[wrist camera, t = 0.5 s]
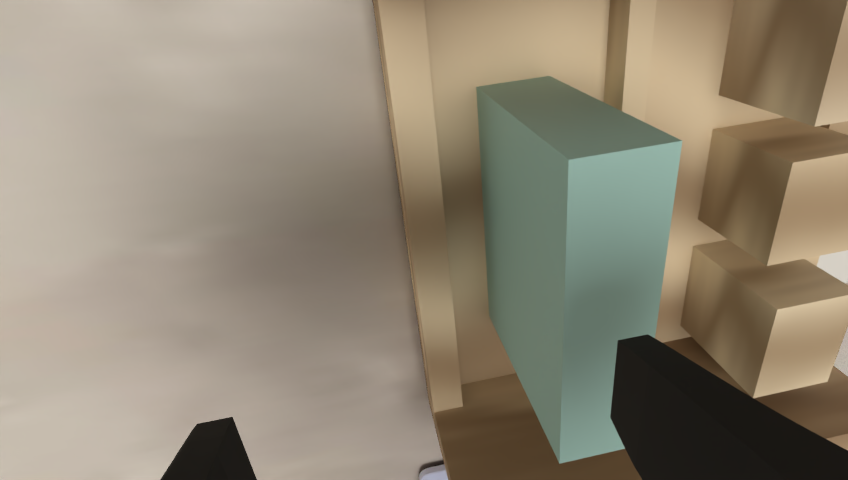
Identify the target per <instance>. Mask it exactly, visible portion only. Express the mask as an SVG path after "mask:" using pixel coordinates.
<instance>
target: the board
mask: <svg viewBox="0 0 848 480" xmlns="http://www.w3.org/2000/svg"><path fill="white" fill-rule="evenodd" d="M476 90H477V108H478V125H479V143H480V161H481V179H482V196H483V214H484V232H485V250H486V267H487V285H488V303H489V317H490V319H491V321H492V323H493V325H494V327H495V329H496V331H497V334H498V336H499V338H500V340H501V342H502V344H503V346H504V348H505V350H506V352H507V355H508V357H509V359H510V361H511V363H512V365H513V367H514V369H515V371H516V373H517V376H518V378H519V380H520V382H521V384H522V386H523V388H524V390H525V392H526V394H527V397H528V399H529V401H530V403H531V405H532V407H533V409H534V411H535V413H536V415H537V417H538V420H539V422H540V424H541V426H542V428H543V430H544V432H545V434H546V436H547V438H548V441H549V443H550V445H551V447H552V449H553V451H554V453H555V455H556V457H557V459H558V462H559V464H560V463H565V462H569V461H573V460H578V459H582V458H587V457H591V456H595V455H600V454H604V453H608V452H613V451H617V450H622V449H625V447H624V445H623V443H622V441H621V439H620V437H619V435H618V433H617V431H616V428H615V426H614V424H613V422H612V420H611V418H610V414H611V404H612V394H613V384H614V374H615V363H616V353H617V343H618V340H622V339H627V338H632V337H637V336H642V335H647V334H648V335H650V336H652V337H653V338H655V334H656V327H657V320H658V312H659V305H660V298H661V291H662V284H663V277H664V269H665V262H666V255H667V248H668V241H669V233H670V226H671V219H672V212H673V205H674V198H675V190H676V183H677V176H678V169H679V162H680V155H681V147H682V140H680V139H678V138H676V137H674V136H672V135H669V134H667V133H665V132H663V131H661V130H659V129H657V128H655V127H653V126H651V125H649V124H647V123H645V122H643V121H641V120H639V119H637V118H635V117H633V116H631V115H629V114H627V113H624V112H622V111H620V110H618V109H616V108H614V107H612V106H610V105H608V104H606V103H604V102H602V101H600V100H598V99H596V98H594V97H592V96H590V95H588V94H586V93H584V92H581V91H579V90H577V89H575V88H573V87H571V86H569V85H567V84H565V83H563V82H561V81H559V80H557V79H555V78H553V77H551V76H545V77H538V78H532V79H525V80H518V81H512V82H505V83H498V84H492V85H485V86H478V87H476Z"/></svg>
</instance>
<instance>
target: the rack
mask: <svg viewBox="0 0 848 480" xmlns="http://www.w3.org/2000/svg"><path fill="white" fill-rule="evenodd" d="M733 5H734V0H373V6H374V13H375V20H376V27H377V34H378V41H379V49H380V56H381V63H382V70H383V77H384V84H385V91H386V98H387V106H388V113H389V120H390V127H391V134H392V141H393V148H394V156H395V163H396V170H397V177H398V184H399V191H400V198H401V206H402V213H403V220H404V227H405V234H406V241H407V248H408V256H409V263H410V270H411V277H412V284H413V291H414V298H415V305H416V313H417V320H418V327H419V334H420V341H421V348H422V355H423V363H424V370H425V377H426V384H427V391H428V398H429V404H430V408H431V412H432V416H433V420H434V424H435V428H436V432H437V436H438V440H439V444H440V448H441V453H442V457H443V461H444V465H445V469H446V473H447V477H448V480H642V478H641V477H640V475H639V473H638V472H637V470H636V469H635V467H634V465H633V463H632V461H631V459H630V457H629V455H628V453H627V451H626V449H622V450H617V451H613V452H608V453H604V454H600V455H595V456H591V457H587V458H582V459H578V460H573V461H569V462H565V463H560V464H559V462H558V459H557V457H556V455H555V453H554V451H553V449H552V447H551V445H550V443H549V441H548V438H547V436H546V434H545V432H544V430H543V428H542V426H541V424H540V422H539V420H538V417H537V415H536V413H535V411H534V409H533V407H532V405H531V403H530V401H529V399H528V397H527V394H526V392H525V390H524V388H523V386H522V384H521V382H520V380H519V378H518V376H517V373H516V371H515V369H514V367H513V365H512V363H511V361H510V359H509V357H508V355H507V352H506V350H505V348H504V346H503V344H502V342H501V340H500V338H499V336H498V334H497V331H496V329H495V327H494V325H493V323H492V321H491V319H490V317H489V303H488V285H487V267H486V250H485V232H484V214H483V196H482V179H481V161H480V143H479V125H478V108H477V90H476V87H478V86H485V85H492V84H498V83H505V82H512V81H518V80H525V79H532V78H538V77H545V76H551V77H553V78H555V79H557V80H559V81H561V82H563V83H565V84H567V85H569V86H571V87H573V88H575V89H577V90H579V91H581V92H584V93H586V94H588V95H590V96H592V97H594V98H596V99H598V100H600V101H602V102H604V103H606V104H608V105H610V106H612V107H614V108H616V109H618V110H620V111H622V112H624V113H627V114H629V115H631V116H633V117H635V118H637V119H639V120H641V121H643V122H645V123H647V124H649V125H651V126H653V127H655V128H657V129H659V130H661V131H663V132H665V133H667V134H669V135H672V136H674V137H676V138H678V139H680V140H682V147H681V155H680V162H679V169H678V176H677V183H676V190H675V198H674V205H673V212H672V219H671V226H670V233H669V241H668V248H667V255H666V262H665V269H664V277H663V284H662V291H661V298H660V305H659V312H658V320H657V327H656V334H655V339H657V340H659V341H660V342H662V343H664V344H665V345H667V346H669V347H670V348H672V349H674V350H675V351H677V352H678V353H680V354H682V355H683V356H685V357H687V358H688V359H690V360H691V361H693V362H695V363H696V364H698V365H700V366H701V367H703V368H704V369H706V370H708V371H709V372H711V373H712V374H714V375H716V376H717V377H719V378H721V379H722V380H724V381H726V382H727V383H729V384H731V385H732V386H734V387H735V388H737V389H739V390H740V391H742V392H744V393H745V394H747V395H749V394H748V393H747V392H746V391H745V390H744V389H743V388H742V387H741V386H740V385H739V384H738V383H737V382H736V381H735V380H734V379H733V378H732V377H731V376H730V375H729V374H728V373H727V372H726V371H725V370H724V369H723V368H722V367H721V366H720V365H719V364H718V363H717V362H716V361H715V360H714V359H713V358H712V357H711V356H710V355H709V354H708V353H707V352H706V351H705V350H704V349H703V348H702V347H701V346H700V345H699V344H698V343H697V342H696V341H695V340H694V339H693V338H692V337H691V336H690V335H689V334H688V333H687V332H686V331H685V330H684V329H683V328H682V327H681V326H680V323H681V317H682V311H683V305H684V299H685V293H686V287H687V281H688V275H689V269H690V263H691V257H692V251H693V246H696V245H701V244H706V243H712V242H717V241H722V240H728V239H726V238H725V237H723V236H722V235H720V234H719V233H717V232H716V231H714V230H713V229H711V228H710V227H708V226H707V225H706V224H704V223H703V222H701V221H700V220H698V215H699V209H700V203H701V197H702V191H703V185H704V179H705V173H706V167H707V161H708V155H709V149H710V143H711V137H712V131H713V129H716V128H722V127H728V126H734V125H740V124H746V123H752V122H759V121H765V120H771V119H777V118H783V116H780V115H777V114H774V113H771V112H768V111H765V110H762V109H759V108H756V107H753V106H750V105H747V104H744V103H741V102H738V101H735V100H732V99H729V98H726V97H723V96H720V95H719V89H720V83H721V77H722V71H723V65H724V59H725V53H726V47H727V41H728V35H729V29H730V23H731V17H732V11H733ZM821 127H824V128H827V129H830V130H833V131H836V132H839V133H843V134H846V135H848V121H845V122H840V123H834V124H828V125H822V126H821ZM819 257H820V256H816V257H811V258H805V259H806V260H807V261H809V262H810V263H812V264H814V265H815V266H817V263H818V260H819ZM749 396H750V395H749ZM754 399H756V400H757V401H759V402H761V403H762V404H764V405H766V406H768V407H769V408H771V409H773V410H774V411H776V412H778V413H780V414H781V415H783V416H785V417H787V418H789V419H790V420H792V421H794V422H796V423H797V424H799V425H801V426H803V427H805V428H807V429H808V430H810V431H812V432H814V433H816V434H818V435H820V436H822V437H823V438H825V439H827V440H829V441H831V442H833V443H835V444H836V445H838V446H840V447H842V448H844V449H846V450H848V377H847V376H846V375H845V374H843V373H842V372H841V371H840V370H838V369H837V368H836V367H834V366H833V368H832V371H831V373H830V376H829V379H828V382H824V383H820V384H815V385H811V386H806V387H802V388H797V389H793V390H788V391H784V392H779V393H775V394H771V395H766V396H762V397H757V398H754Z"/></svg>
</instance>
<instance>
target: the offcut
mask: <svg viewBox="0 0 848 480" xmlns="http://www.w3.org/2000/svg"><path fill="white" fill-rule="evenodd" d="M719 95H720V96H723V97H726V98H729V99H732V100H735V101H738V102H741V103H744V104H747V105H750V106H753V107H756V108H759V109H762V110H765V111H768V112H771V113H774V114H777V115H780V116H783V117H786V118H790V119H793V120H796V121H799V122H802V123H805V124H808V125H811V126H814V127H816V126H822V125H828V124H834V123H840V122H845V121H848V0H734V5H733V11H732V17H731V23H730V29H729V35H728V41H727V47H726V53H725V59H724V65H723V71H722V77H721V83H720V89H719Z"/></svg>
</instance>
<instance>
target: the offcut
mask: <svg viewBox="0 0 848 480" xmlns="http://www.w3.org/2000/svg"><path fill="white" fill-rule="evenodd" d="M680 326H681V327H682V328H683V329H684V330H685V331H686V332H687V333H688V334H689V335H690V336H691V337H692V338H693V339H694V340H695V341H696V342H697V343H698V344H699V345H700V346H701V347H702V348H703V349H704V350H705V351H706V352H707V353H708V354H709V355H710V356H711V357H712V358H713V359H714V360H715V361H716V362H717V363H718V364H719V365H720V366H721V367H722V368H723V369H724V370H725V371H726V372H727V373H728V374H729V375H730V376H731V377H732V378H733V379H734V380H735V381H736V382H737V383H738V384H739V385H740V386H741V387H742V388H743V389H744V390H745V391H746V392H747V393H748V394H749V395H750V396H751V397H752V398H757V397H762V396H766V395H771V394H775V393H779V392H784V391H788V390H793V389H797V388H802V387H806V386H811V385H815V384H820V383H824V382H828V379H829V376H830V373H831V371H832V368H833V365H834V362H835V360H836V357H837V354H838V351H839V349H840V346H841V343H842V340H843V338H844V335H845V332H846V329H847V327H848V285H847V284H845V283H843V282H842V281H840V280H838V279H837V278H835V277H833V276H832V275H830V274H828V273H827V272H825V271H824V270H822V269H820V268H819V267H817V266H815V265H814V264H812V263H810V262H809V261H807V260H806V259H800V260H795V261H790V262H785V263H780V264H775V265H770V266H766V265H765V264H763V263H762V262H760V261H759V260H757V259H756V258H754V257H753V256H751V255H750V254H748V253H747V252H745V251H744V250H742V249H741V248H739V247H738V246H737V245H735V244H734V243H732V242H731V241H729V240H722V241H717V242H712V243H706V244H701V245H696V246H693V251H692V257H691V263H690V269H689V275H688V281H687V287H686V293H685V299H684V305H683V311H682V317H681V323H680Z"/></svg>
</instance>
